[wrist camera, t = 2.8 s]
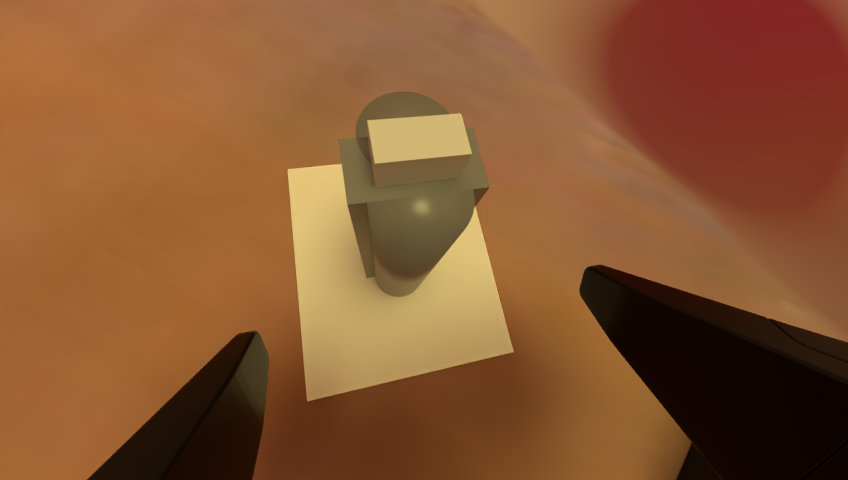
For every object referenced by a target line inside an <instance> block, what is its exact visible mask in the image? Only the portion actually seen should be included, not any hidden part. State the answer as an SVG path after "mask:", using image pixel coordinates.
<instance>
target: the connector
mask: <svg viewBox="0 0 848 480" xmlns="http://www.w3.org/2000/svg"><path fill="white" fill-rule="evenodd" d="M338 142H339V149H340V156H341V163H342V170H343V177H344V185H345V192H346V199H347V206H348V209H349V213H350V217H351V221H352V225H353V228H354V232H355V236H356V240H357V244H358V247H359V251H360V255H361V259H362V263H363V266H364V270H365V274H366V278H370V277H375V280H376V283H377V285H378V286H379V288H380V289H381V290H382V291H383V292H385V293H386V294H388V295H390V296H394V297H403V296H407V295H409V294H411V293H413V292H414V291H415V290H416V289H417V288H418V287H419V286H420V284H421V283H422V282H423V281H424V279H425V278H426V277H427V276H428V274H429V273H430V272H431V271H432V269H433V268H434V267H435V266H436V265H437V263H438V262H439V261H440V260H441V258H442V257H443V256H444V255H445V253H446V252H447V251H448V250H449V248H450V247H451V246H452V245H453V244H454V242H455V241H456V240H457V239H458V237H459V236H460V235H461V234H462V232H463V231H464V230H465V229H466V227H467V226H468V224H469V222H470V221H471V218H472V215H473V212H474V207H475V206H476V205H477V203H478V202H479V201H480V199H481V198H482V197H483V195H484V194H485V193H486V191H487V190H488V189H489V183H488V180H487V176H486V173H485V169H484V165H483V162H482V158H481V155H480V151H479V148H478V144H477V141H476V137H475V134H474V130H473V128H469V129H465V126H464V123H463V119H462V115H461V114H449V113H448V112H447V110H446V109H445V108H444V107H443V106H441V105H440V104H439V103H437V102H436V101H434V100H433V99H431V98H429V97H426V96H424V95H421V94H417V93H412V92H394V93H389V94H386V95H383V96H380V97H378V98H376V99H375V100H373V101H372V102H370V103H369V104H368V105H367V106H366V107H365V108H364V110H363V111H362V113H361V114H360V116H359V119H358V121H357V125H356V138H350V139H338Z"/></svg>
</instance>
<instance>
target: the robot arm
mask: <svg viewBox="0 0 848 480" xmlns="http://www.w3.org/2000/svg"><path fill="white" fill-rule="evenodd" d="M579 290H580V295H581V297H582V299H583V300H584V302H585V303H586V305H587V306H588V308H589V309H590V311H591V312H592V314H593V315H594V317H595V318H596V320H597V321H598V323H599V324H600V326H601V327H602V329H603V330H604V332H605V333H606V335H607V336H608V338H609V339H610V341H611V342H612V343H613V345H614V346H615V347H616V348H617V350H618V351H619V352H620V353H621V355H622V356H623V357H624V358H625V360H626V361H627V362H628V363H629V365H630V366H631V367H632V368H633V370H634V371H635V372H636V373H637V374H638V376H639V377H640V378H641V379H642V381H643V382H644V383H645V384H646V386H647V387H648V388H649V389H650V391H651V392H652V393H653V394H654V396H655V397H656V398H657V399H658V401H659V402H660V403H661V404H662V406H663V407H664V408H665V409H666V411H667V412H668V413H669V414H670V415H671V417H672V418H673V419H674V420H675V422H676V423H677V424H678V425H679V427H680V428H681V429H682V430H683V432H684V433H685V434H686V435H687V437H688V438H689V439H690V440H691V442H692V443H693V444H694V445H695V447H696V448H697V449H698V450H699V452H700V453H701V454H702V455H703V456H704V458H705V459H706V460H707V461H708V463H709V464H710V465H711V466H712V468H713V469H714V470H715V471H716V473H717V474H718V475H719V476H720V478H721V479H722V480H848V342H845V341H841V340H838V339H834V338H831V337H827V336H824V335H821V334H818V333H814V332H811V331H808V330H805V329H802V328H798V327H795V326H792V325H789V324H786V323H782V322H779V321H776V320H773V319H767V318H766V317H763V316H760V315H757V314H754V313H751V312H748V311H745V310H742V309H738V308H735V307H732V306H729V305H726V304H723V303H720V302H716V301H713V300H710V299H707V298H704V297H701V296H698V295H695V294H691V293H688V292H685V291H682V290H679V289H676V288H673V287H669V286H666V285H663V284H660V283H657V282H654V281H651V280H648V279H644V278H641V277H638V276H635V275H632V274H629V273H626V272H622V271H619V270H616V269H613V268H610V267H607V266H604V265H594V266H589V267H587V268H586V269H585V271H584V274H583V277H582V281H581V285H580V289H579ZM268 370H269V355H268V352H267V350H266V348H265V345H264V343H263V341H262V338H261V336H260V334H259V333H258V332H257V331H250V332H244V333H240V334H238V335H236V336H235V337H234V338H233V339H232V340H231V341H230V342H229V343H228V344H227V345H226V346H225V347H224V348H222V349H221V350H220V351H219V352H218V353H217V354H216V355H215V356H214V357H213V358H212V359H211V360H210V361H209V362H208V363H207V364H206V365H205V366H204V367H203V368H202V369H201V370H200V371H199V372H198V373H197V374H196V375H195V376H194V377H193V378H192V379H190V380H189V381H188V382H187V383H186V384H185V385H184V386H183V387H182V388H181V389H180V390H179V391H178V392H177V393H176V394H175V395H174V396H173V397H172V398H171V399H170V400H169V401H168V402H167V403H166V404H165V405H164V406H163V407H162V408H161V409H160V410H158V411H157V412H156V413H155V414H154V415H153V416H152V417H151V418H150V419H149V420H148V421H147V422H146V423H145V424H144V425H143V426H142V427H141V428H140V429H139V430H138V431H137V432H136V433H135V434H134V435H133V436H132V437H131V438H130V439H129V440H128V441H126V442H125V443H124V444H123V445H122V446H121V447H120V448H119V449H118V450H117V451H116V452H115V453H114V454H113V455H112V456H111V457H110V458H109V459H108V460H107V461H106V462H105V463H104V464H103V465H102V466H101V467H100V468H99V469H98V470H97V471H96V472H95V473H93V474H92V475H91V476H90V477H89V478H88V479H87V480H252V478H253V473H254V468H255V463H256V459H257V454H258V449H259V444H260V440H261V434H262V429H263V421H264V412H265V402H266V391H267V381H268Z"/></svg>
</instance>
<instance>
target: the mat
mask: <svg viewBox="0 0 848 480" xmlns="http://www.w3.org/2000/svg"><path fill="white" fill-rule="evenodd" d="M288 180H289V192H290V204H291V216H292V228H293V240H294V252H295V264H296V276H297V288H298V300H299V311H300V323H301V335H302V347H303V359H304V371H305V383H306V395H307V401H311V400H315V399H319V398H324V397H328V396H332V395H336V394H340V393H345V392H349V391H353V390H357V389H361V388H365V387H370V386H374V385H378V384H382V383H386V382H391V381H395V380H399V379H403V378H407V377H412V376H416V375H420V374H424V373H428V372H432V371H437V370H441V369H445V368H449V367H453V366H458V365H462V364H466V363H470V362H474V361H478V360H483V359H487V358H491V357H495V356H499V355H504V354H508V353H512V352H514V351H513V348H512V344H511V340H510V336H509V332H508V329H507V325H506V321H505V317H504V314H503V310H502V306H501V302H500V298H499V295H498V291H497V287H496V283H495V279H494V276H493V272H492V268H491V264H490V260H489V257H488V253H487V249H486V245H485V242H484V238H483V234H482V230H481V226H480V223H479V219H478V215H477V211H476V207H474V212H473V215H472V218H471V221H470V222H469V224H468V226H467V227H466V229H465V230H464V231H463V232H462V234H461V235H460V236H459V237H458V239H457V240H456V241H455V242H454V244H453V245H452V246H451V247H450V248H449V250H448V251H447V252H446V253H445V255H444V256H443V257H442V258H441V260H440V261H439V262H438V263H437V265H436V266H435V267H434V268H433V269H432V271H431V272H430V273H429V274H428V276H427V277H426V278H425V279H424V281H423V282H422V283H421V284H420V286H419V287H418V288H417V289H416V290H415V291H414V292H413V293H411V294H409V295H407V296H403V297H394V296H390V295H388V294H386V293H385V292H383V291H382V290H381V289H380V288H379V286H378V285H377V283H376V280H375V277H370V278H366V274H365V270H364V266H363V263H362V259H361V255H360V251H359V247H358V244H357V240H356V236H355V232H354V228H353V225H352V221H351V217H350V213H349V209H348V206H347V199H346V192H345V185H344V177H343V170H342V164H337V165H327V166H317V167H307V168H297V169H288Z"/></svg>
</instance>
